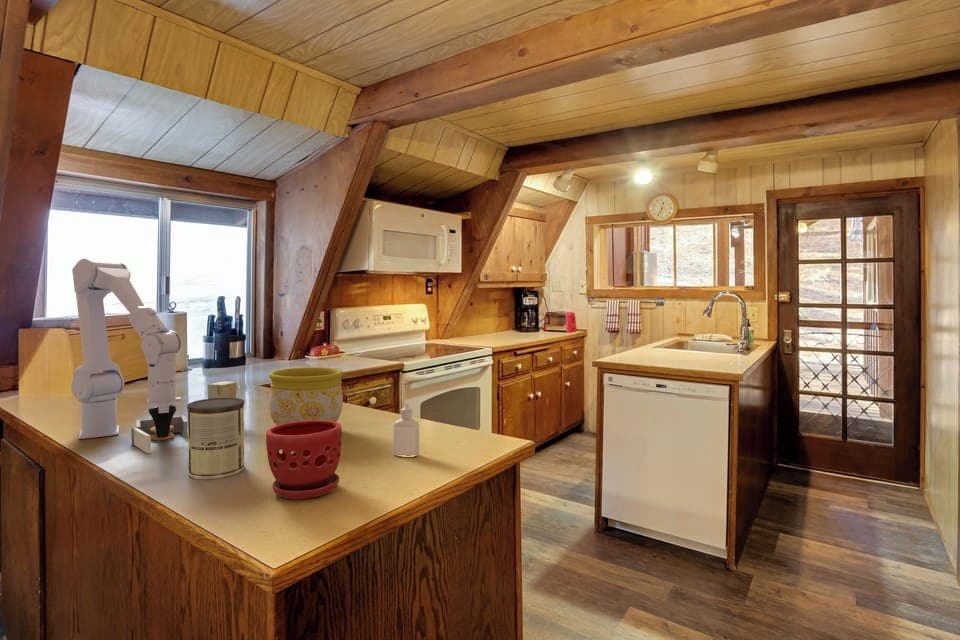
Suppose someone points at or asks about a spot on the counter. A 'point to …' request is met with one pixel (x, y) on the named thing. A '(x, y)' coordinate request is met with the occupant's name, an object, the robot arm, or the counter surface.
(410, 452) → the eye dropper bottle
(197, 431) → the coffee can
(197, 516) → the counter surface
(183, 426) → the open grey tray
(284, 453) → the plant pot
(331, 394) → the flowerpot
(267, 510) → the counter surface
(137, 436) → the cover
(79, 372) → the robot arm
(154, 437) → the door knob
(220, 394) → the skincare box
